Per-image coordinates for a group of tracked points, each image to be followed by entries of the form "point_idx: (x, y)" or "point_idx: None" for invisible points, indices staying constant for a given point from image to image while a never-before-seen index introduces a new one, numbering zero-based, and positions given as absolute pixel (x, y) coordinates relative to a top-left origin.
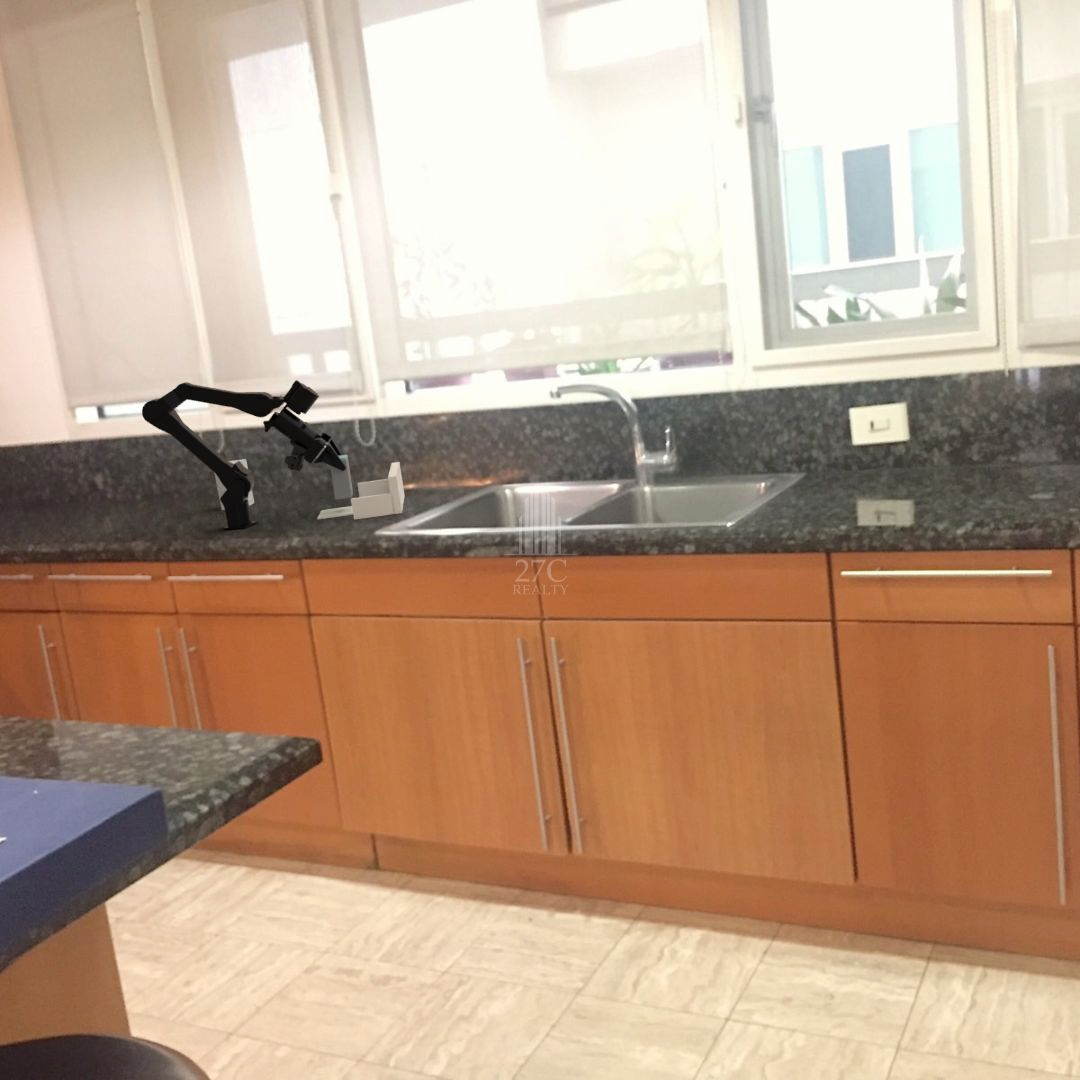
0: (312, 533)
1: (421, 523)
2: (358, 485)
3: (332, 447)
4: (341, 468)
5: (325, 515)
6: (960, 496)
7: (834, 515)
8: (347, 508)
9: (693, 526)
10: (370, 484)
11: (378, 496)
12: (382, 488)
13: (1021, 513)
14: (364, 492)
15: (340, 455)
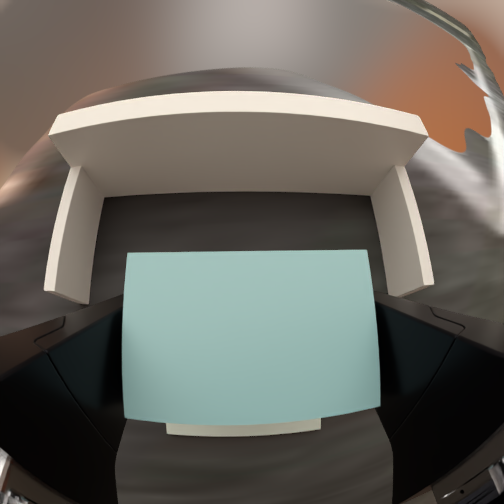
0: None
1: (468, 162)
2: (59, 290)
3: (53, 404)
4: None
5: None
6: (424, 4)
7: (453, 28)
8: None
9: (474, 55)
10: (66, 246)
11: (413, 199)
12: (83, 217)
13: (452, 18)
14: (75, 279)
15: (128, 323)
